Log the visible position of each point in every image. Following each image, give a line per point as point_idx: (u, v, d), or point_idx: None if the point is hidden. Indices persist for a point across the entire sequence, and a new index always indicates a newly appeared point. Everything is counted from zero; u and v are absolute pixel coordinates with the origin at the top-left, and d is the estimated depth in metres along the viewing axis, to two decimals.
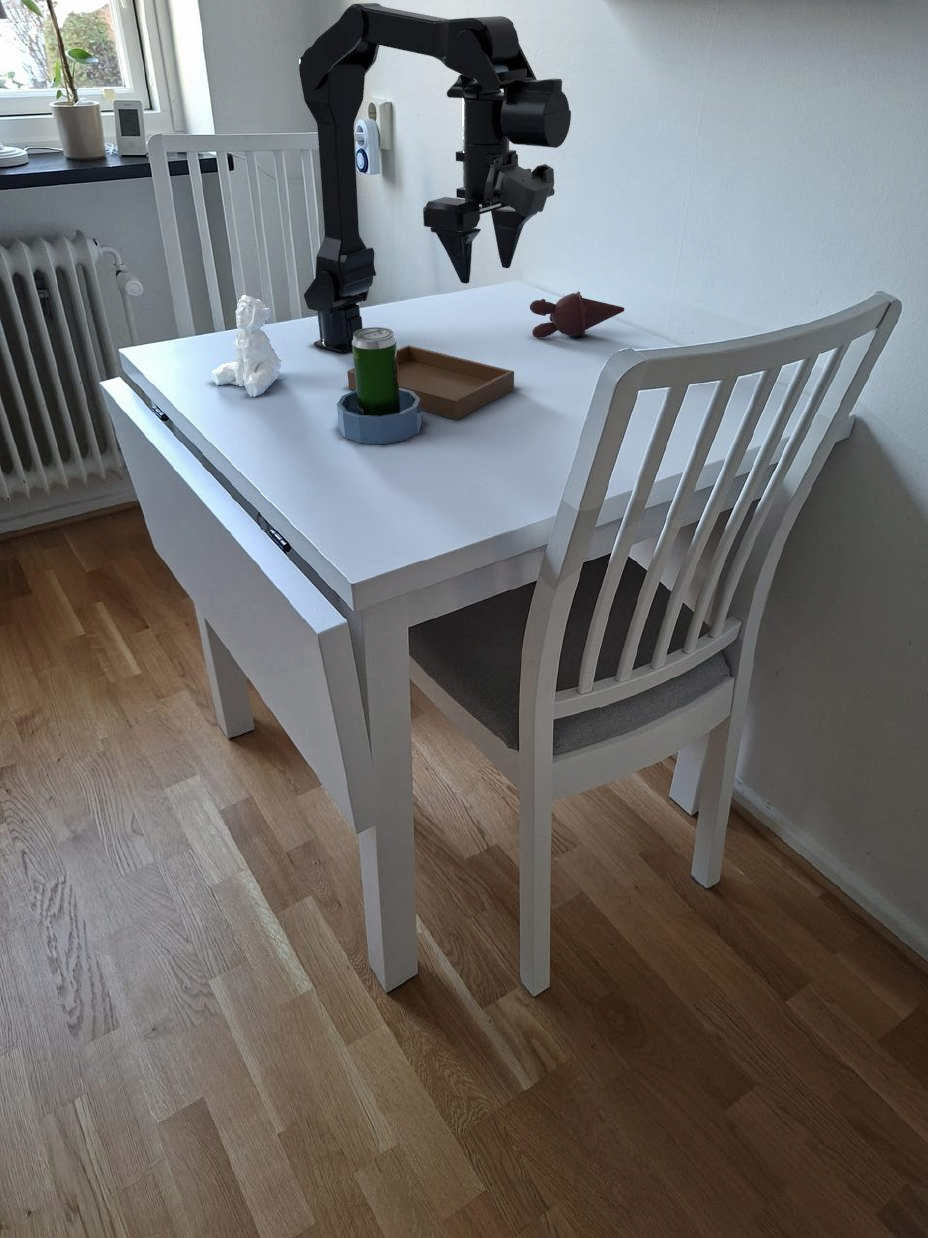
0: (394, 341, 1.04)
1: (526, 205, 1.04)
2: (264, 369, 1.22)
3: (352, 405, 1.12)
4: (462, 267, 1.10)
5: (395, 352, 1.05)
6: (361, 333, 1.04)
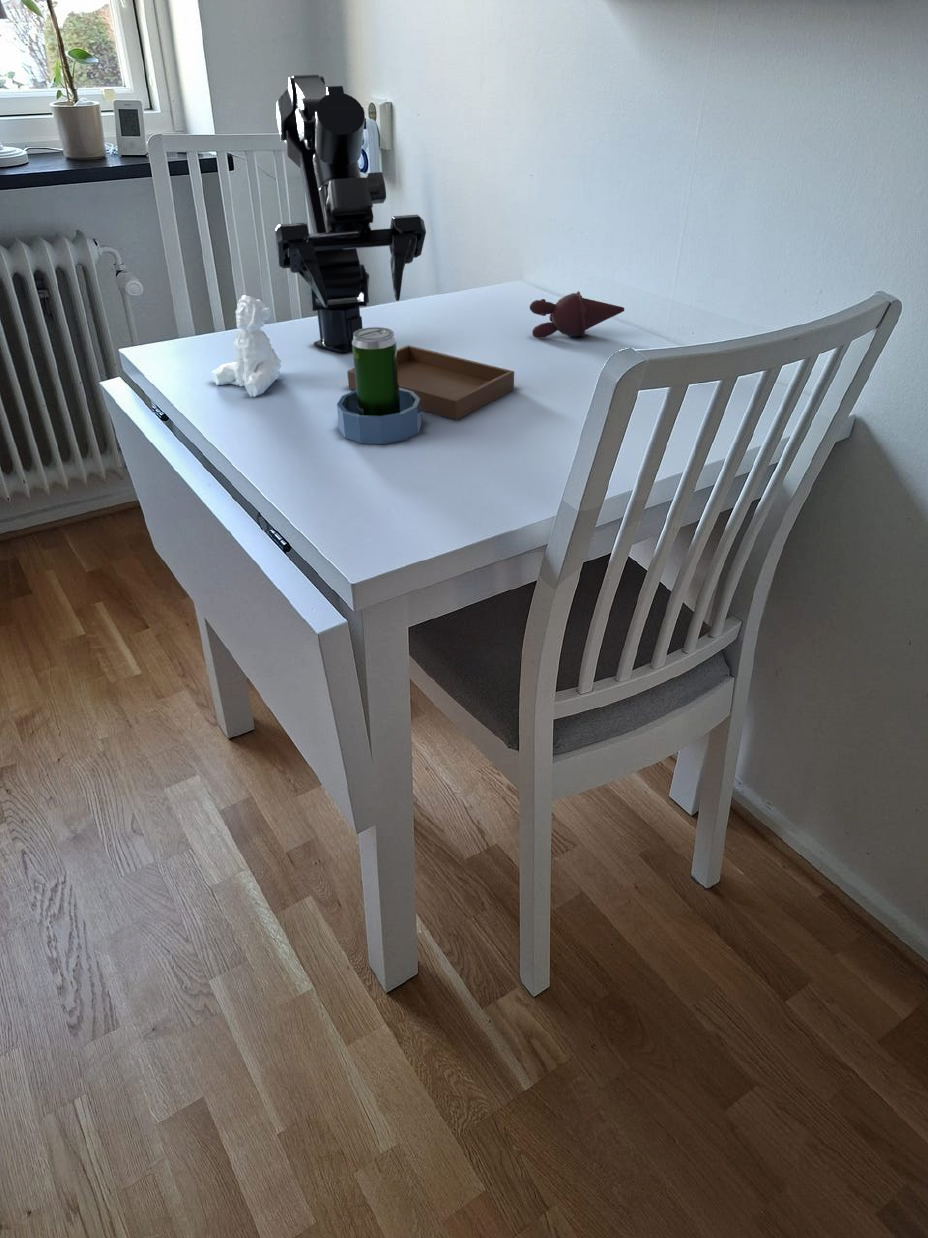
0: (394, 341, 1.04)
1: (334, 196, 1.03)
2: (264, 369, 1.22)
3: (352, 405, 1.12)
4: (317, 289, 1.09)
5: (395, 352, 1.05)
6: (361, 333, 1.04)
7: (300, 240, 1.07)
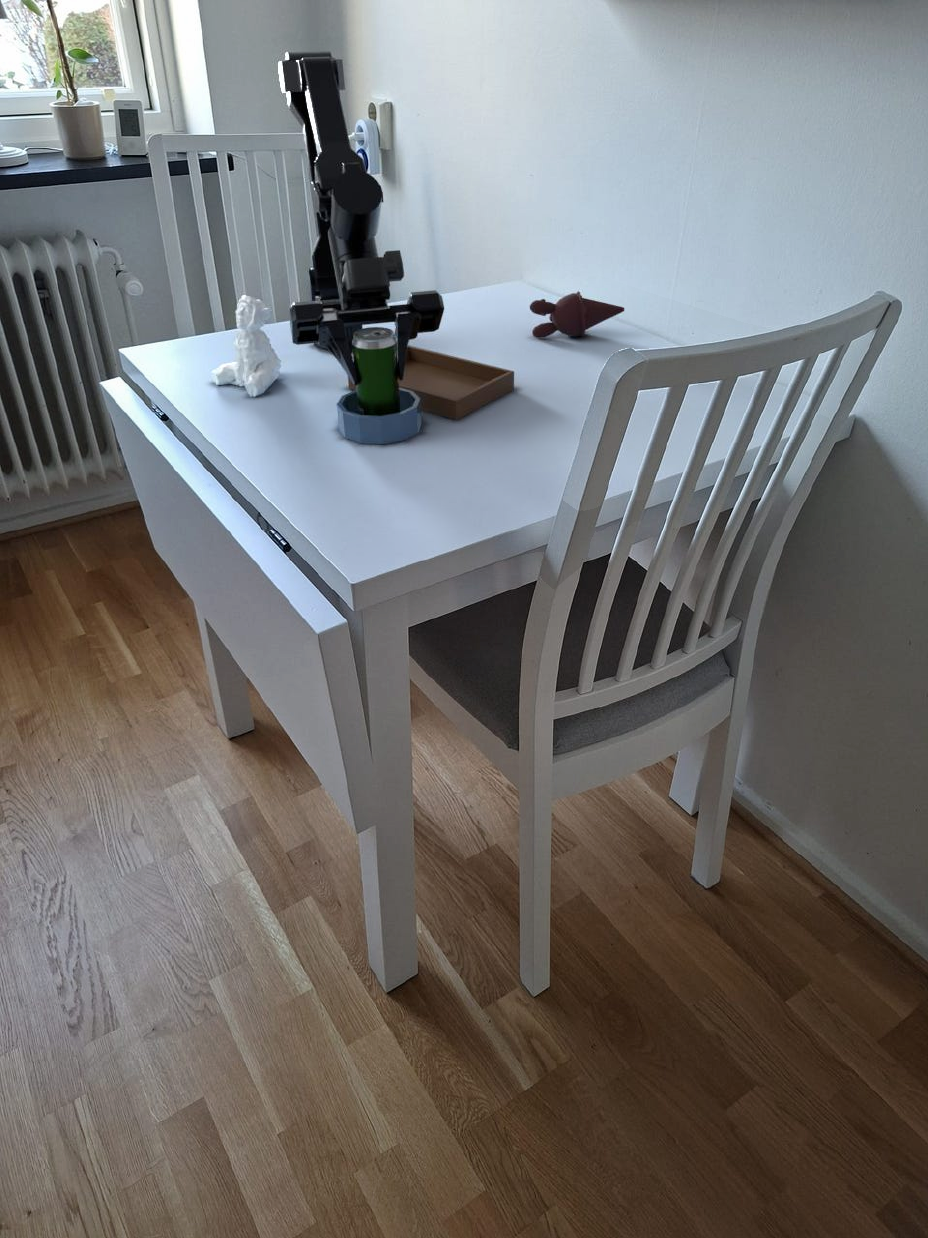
0: (394, 341, 1.04)
1: (350, 276, 1.00)
2: (264, 369, 1.22)
3: (352, 405, 1.12)
4: (346, 367, 1.06)
5: (395, 352, 1.05)
6: (361, 333, 1.04)
7: (315, 319, 1.03)
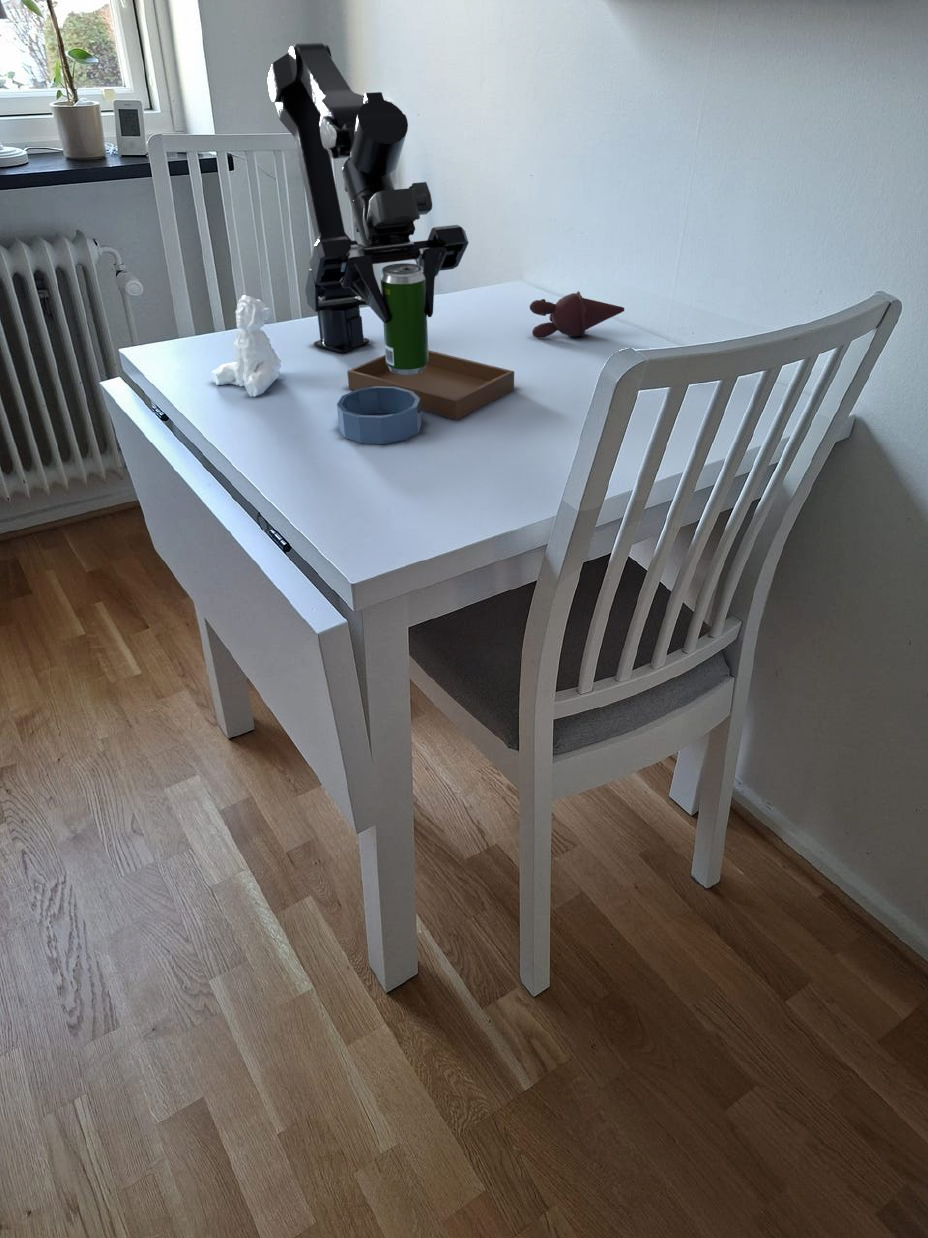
0: (424, 276, 1.03)
1: (381, 208, 0.98)
2: (264, 369, 1.22)
3: (352, 405, 1.12)
4: (375, 305, 1.04)
5: (425, 287, 1.04)
6: (390, 269, 1.03)
7: (343, 255, 1.01)
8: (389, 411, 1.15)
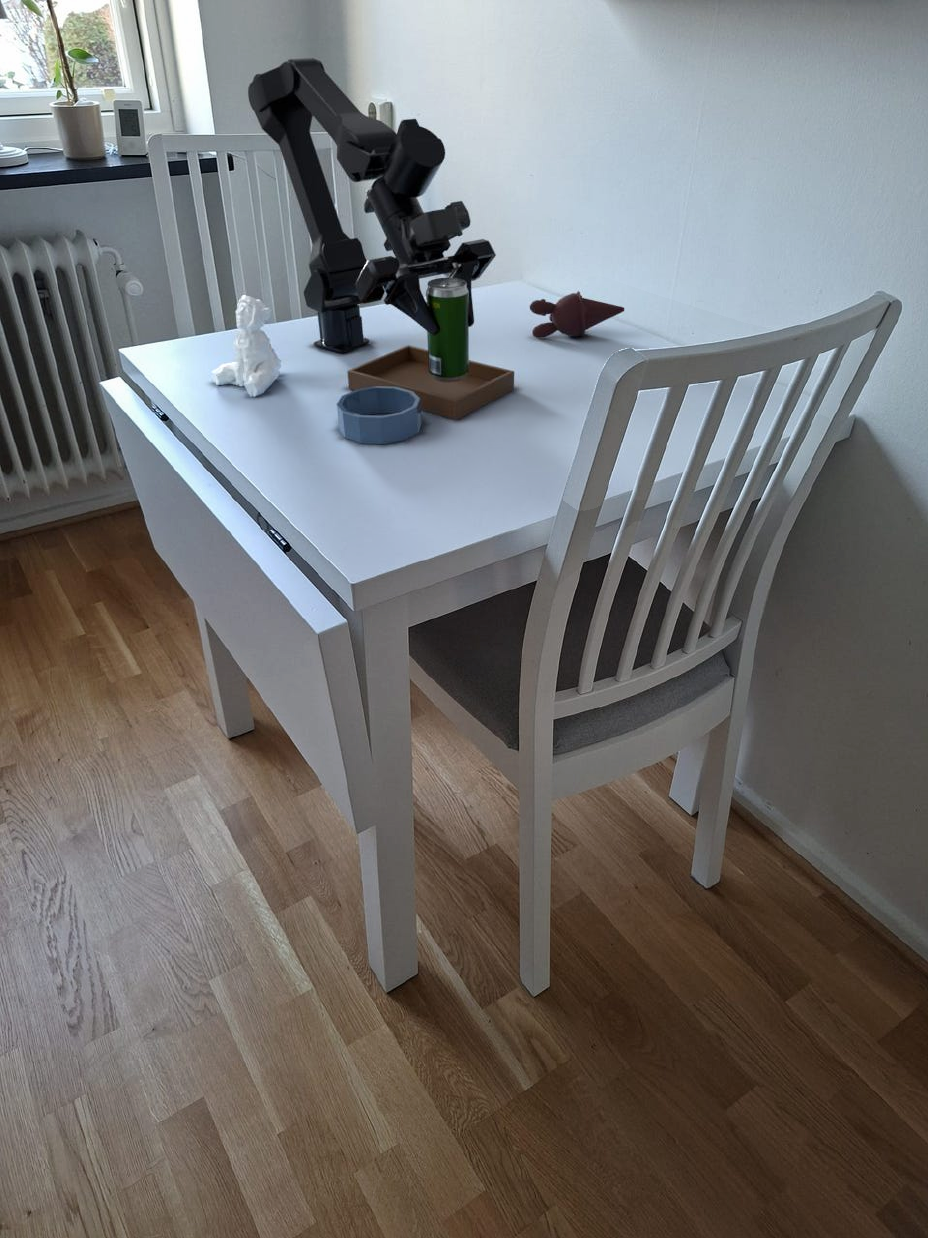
0: None
1: (431, 227, 1.04)
2: (264, 369, 1.22)
3: (352, 405, 1.12)
4: (424, 318, 1.09)
5: (468, 299, 1.10)
6: (435, 284, 1.09)
7: (393, 274, 1.06)
8: (389, 411, 1.15)
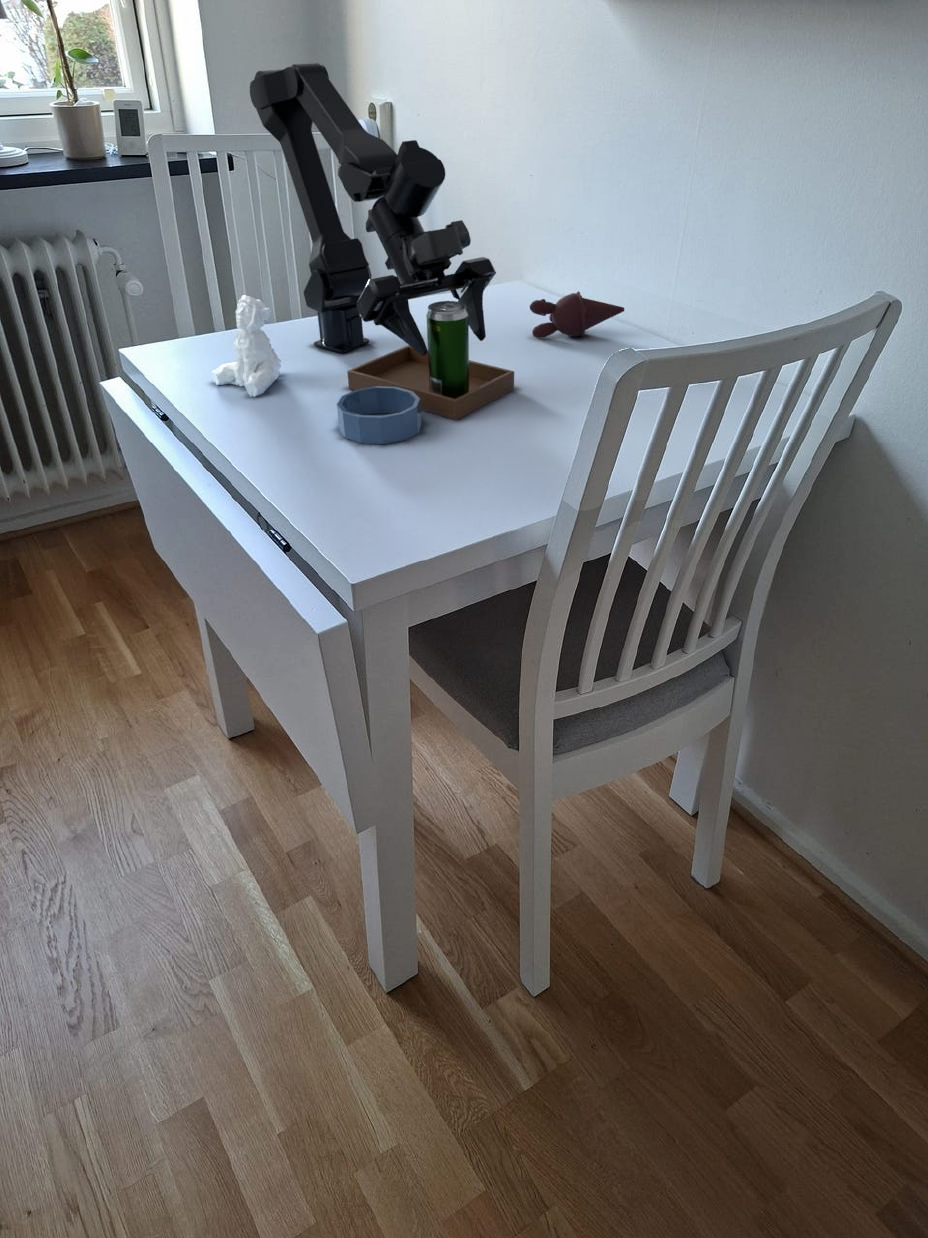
0: None
1: (432, 247, 1.05)
2: (264, 369, 1.22)
3: (352, 405, 1.12)
4: (413, 339, 1.10)
5: None
6: (436, 307, 1.10)
7: (395, 293, 1.07)
8: (389, 411, 1.15)
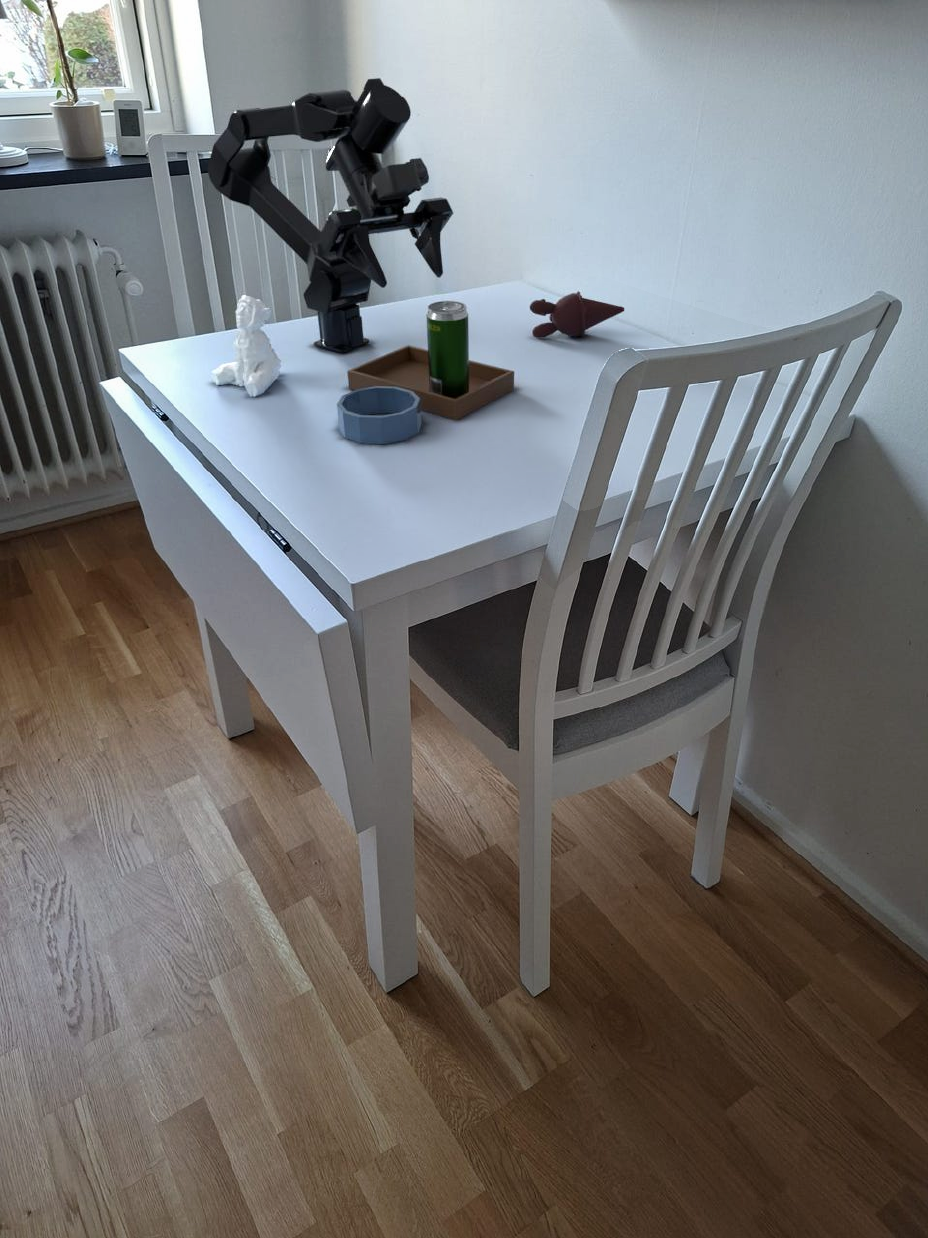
0: None
1: (391, 181, 1.10)
2: (264, 369, 1.22)
3: (352, 405, 1.12)
4: (373, 271, 1.14)
5: None
6: (436, 307, 1.10)
7: (356, 225, 1.12)
8: (389, 411, 1.15)
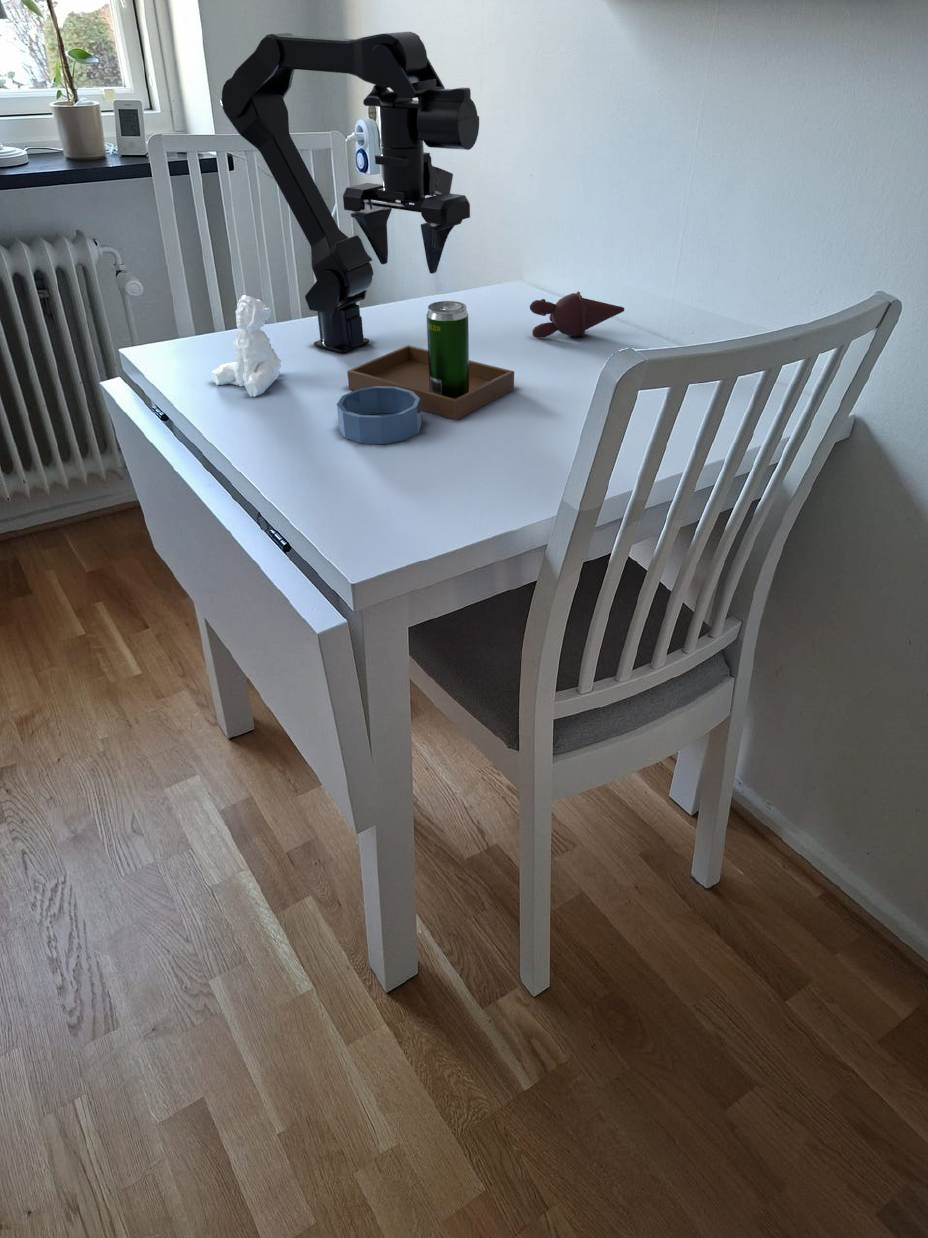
0: None
1: (450, 188, 1.23)
2: (264, 369, 1.22)
3: (352, 405, 1.12)
4: (438, 257, 1.21)
5: None
6: (436, 307, 1.10)
7: None
8: (389, 411, 1.15)
